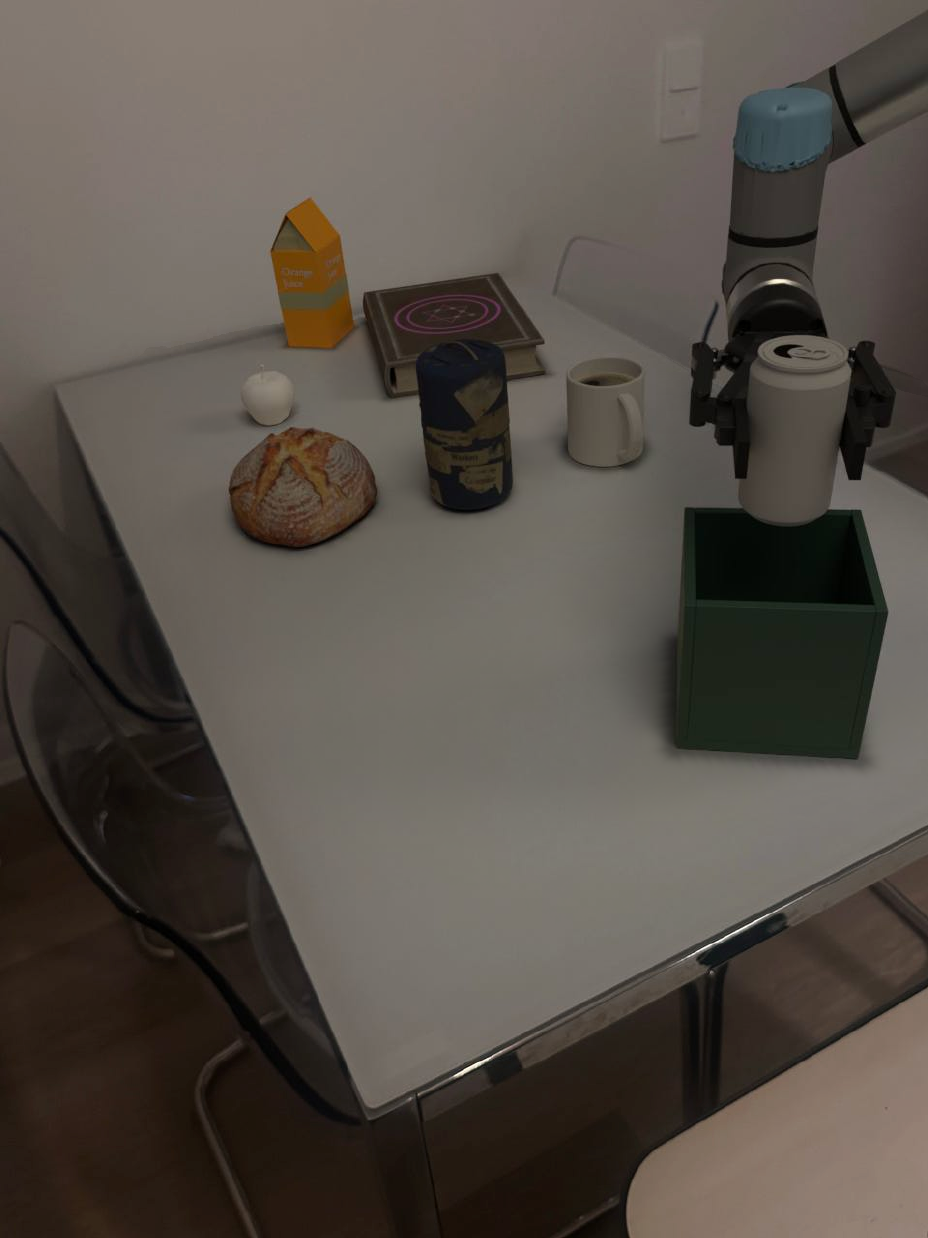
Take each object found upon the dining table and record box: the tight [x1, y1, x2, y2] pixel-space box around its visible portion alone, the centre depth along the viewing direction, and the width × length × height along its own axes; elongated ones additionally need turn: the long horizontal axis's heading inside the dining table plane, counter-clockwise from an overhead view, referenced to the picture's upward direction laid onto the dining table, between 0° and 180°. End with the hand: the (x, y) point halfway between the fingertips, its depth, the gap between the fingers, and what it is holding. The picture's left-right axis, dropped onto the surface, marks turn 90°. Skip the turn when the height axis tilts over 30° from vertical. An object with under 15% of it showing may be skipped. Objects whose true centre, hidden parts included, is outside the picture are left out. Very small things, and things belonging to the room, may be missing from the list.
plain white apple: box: [240, 363, 295, 427], centre depth 133 cm, size 7×7×8 cm
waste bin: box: [675, 506, 889, 760], centre depth 79 cm, size 14×14×14 cm
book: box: [362, 272, 547, 399], centre depth 149 cm, size 30×22×5 cm
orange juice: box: [269, 196, 355, 349], centre depth 153 cm, size 8×9×20 cm
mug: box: [565, 355, 646, 468], centre depth 116 cm, size 11×10×10 cm
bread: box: [228, 426, 378, 548], centre depth 112 cm, size 16×20×10 cm
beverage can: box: [737, 335, 851, 526], centre depth 69 cm, size 6×6×12 cm
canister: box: [416, 339, 514, 511], centre depth 109 cm, size 10×10×18 cm
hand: (799, 460), depth 65 cm, fingers closed on beverage can, 6 cm apart
